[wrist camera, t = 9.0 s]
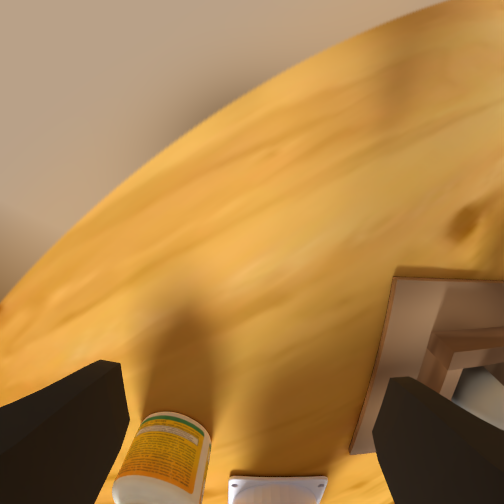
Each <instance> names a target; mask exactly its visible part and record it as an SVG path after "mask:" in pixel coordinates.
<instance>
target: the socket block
mask: <svg viewBox="0 0 504 504" xmlns="http://www.w3.org/2000/svg"><path fill="white" fill-rule="evenodd" d="M478 366H483V367H484V368H485V369H486V370H487V371H488V372H489V373H491V374H492V375H493V376H494V377H495V378H496V379H497V380H498V381H499V382H500V383H501V384H502V385H503V386H504V281H493V280H463V279H436V278H412V277H393V281H392V287H391V292H390V298H389V303H388V308H387V313H386V318H385V323H384V327H383V332H382V336H381V341H380V345H379V349H378V353H377V357H376V361H375V365H374V369H373V373H372V377H371V380H370V384H369V387H368V391H367V394H366V398H365V401H364V404H363V408H362V411H361V414H360V417H359V420H358V423H357V427H356V430H355V433H354V435H353V438H352V441H351V444H350V447H349V453H350V455H356V454H366V453H374V452H376V449H375V445H374V440H373V435H372V430H373V427H374V424H375V422H376V419H377V416H378V413H379V410H380V407H381V404H382V401H383V398H384V395H385V392H386V389H387V386H388V382H389V379H390V378H393V377H406V376H409V377H411V378H413V379H415V380H417V381H419V382H421V383H423V384H424V385H426V386H428V387H429V388H431V389H432V390H434V391H436V392H437V393H439V394H440V395H442V396H444V397H445V398H447V399H448V400H450V401H451V398H452V396H453V393H454V391H455V388H456V386H457V383H458V381H459V378H460V375H461V373H462V370H463V369H464V368H471V367H478Z"/></svg>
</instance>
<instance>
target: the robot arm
mask: <svg viewBox="0 0 504 504" xmlns="http://www.w3.org/2000/svg"><path fill="white" fill-rule="evenodd" d="M129 421H130V417H129V412H128V407H127V401H126V396H125V390H124V384H123V377H122V371H121V364H120V363H116V362H110V361H105V360H99V361H96V362H94V363H92V364H90V365H88V366H86V367H84V368H82V369H80V370H78V371H76V372H74V373H72V374H70V375H69V376H67V377H65V378H63V379H61V380H59V381H57V382H55V383H53V384H51V385H49V386H47V387H45V388H43V389H41V390H39V391H37V392H35V393H33V394H30V395H28V396H26V397H24V398H22V399H19V400H17V401H15V402H13V403H10V404H8V405H5V406H3V407H0V504H94V503H95V501H96V499H97V497H98V495H99V493H100V490H101V488H102V486H103V484H104V482H105V480H106V478H107V476H108V474H109V472H110V470H111V468H112V466H113V464H114V462H115V460H116V458H117V456H118V453H119V451H120V449H121V446H122V443H123V440H124V437H125V434H126V431H127V428H128V425H129ZM372 435H373V440H374V445H375V449H376V453H377V457H378V461H379V464H380V467H381V469H382V472H383V474H384V477H385V480H386V482H387V485H388V487H389V490H390V492H391V495H392V497H393V500H394V502H395V504H504V430H502V429H500V428H498V427H496V426H494V425H492V424H490V423H488V422H486V421H484V420H482V419H480V418H479V417H477V416H475V415H473V414H472V413H470V412H468V411H466V410H465V409H463V408H461V407H460V406H458V405H457V404H455V403H453V402H452V401H450V400H448V399H447V398H445V397H444V396H442V395H440V394H439V393H437V392H436V391H434V390H432V389H431V388H429V387H428V386H426V385H424V384H423V383H421V382H419V381H417V380H415V379H413V378H411V377H409V376H406V377H393V378H390V379H389V382H388V386H387V389H386V392H385V395H384V398H383V401H382V404H381V407H380V410H379V413H378V416H377V419H376V422H375V424H374V427H373V430H372ZM327 483H328V478H327V477H326V476H313V477H249V476H231V477H229V486H228V504H319V503H320V501H321V498H322V496H323V493H324V491H325V488H326V485H327Z"/></svg>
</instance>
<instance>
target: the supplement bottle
mask: <svg viewBox="0 0 504 504" xmlns="http://www.w3.org/2000/svg"><path fill="white" fill-rule="evenodd" d="M210 452H211V439H210V436H209V434H208V432H207V431H206V430H205V428H204V427H203V426H202V425H201V424H199V423H198V422H196V421H195V420H193V419H191V418H189V417H187V416H185V415H182V414H179V413H176V412H157V413H154V414H151V415H149V416H148V417H146V418H145V419H144V420H143V422H142V423H141V425H140V427H139V429H138V431H137V433H136V436H135V438H134V440H133V442H132V444H131V447H130V449H129V451H128V453H127V455H126V457H125V460H124V462H123V464H122V467H121V469H120V471H119V473H118V475H117V477H116V479H115V481H114V484H113V488H112V496H113V499H114V501H115V503H116V504H202V499H203V493H204V488H205V481H206V475H207V470H208V464H209V458H210Z"/></svg>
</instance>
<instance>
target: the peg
mask: <svg viewBox="0 0 504 504" xmlns="http://www.w3.org/2000/svg"><path fill="white" fill-rule="evenodd" d="M451 401H452V402H453V403H455V404H457V405H458V406H460V407H461V408H463V409H465V410H466V411H468V412H470V413H472V414H473V415H475V416H477V417H479V418H480V419H482V420H484V421H486V422H488V423H490V424H492V425H494V426H496V427H498V428H500V429H502V430H504V386H503V385H502V384H501V383H500V382H499V381H498V380H497V379H496V378H495V377H494V376H493V375H492V374H491V373H489V372H488V371H487V370H486V369H485V368H484V367H483V366H478V367H471V368H464V369H463V370H462V373H461V375H460V378H459V381H458V383H457V386H456V388H455V391H454V393H453V396H452V398H451Z"/></svg>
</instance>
